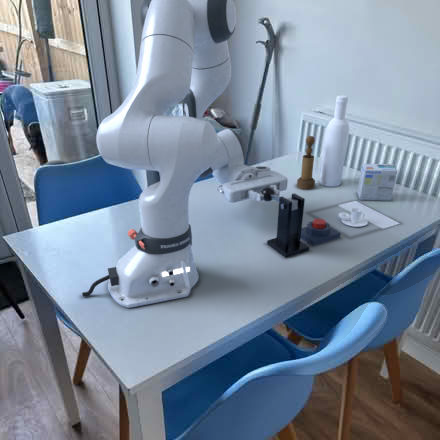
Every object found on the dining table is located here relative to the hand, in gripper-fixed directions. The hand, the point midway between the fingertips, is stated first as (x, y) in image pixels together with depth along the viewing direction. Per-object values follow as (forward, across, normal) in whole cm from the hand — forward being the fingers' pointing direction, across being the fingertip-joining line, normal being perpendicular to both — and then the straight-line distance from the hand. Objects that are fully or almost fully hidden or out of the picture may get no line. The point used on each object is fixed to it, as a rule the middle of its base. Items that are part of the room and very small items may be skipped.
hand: (269, 196), depth 120 cm
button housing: (+9, +11, +12) cm, 19 cm away
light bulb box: (-4, +47, +12) cm, 49 cm away
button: (+9, +11, +9) cm, 17 cm away
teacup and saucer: (+5, +29, +12) cm, 32 cm away
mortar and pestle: (-24, +33, +12) cm, 42 cm away
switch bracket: (+10, 0, +12) cm, 15 cm away
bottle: (-22, +43, +12) cm, 50 cm away
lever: (+4, 0, +1) cm, 5 cm away
